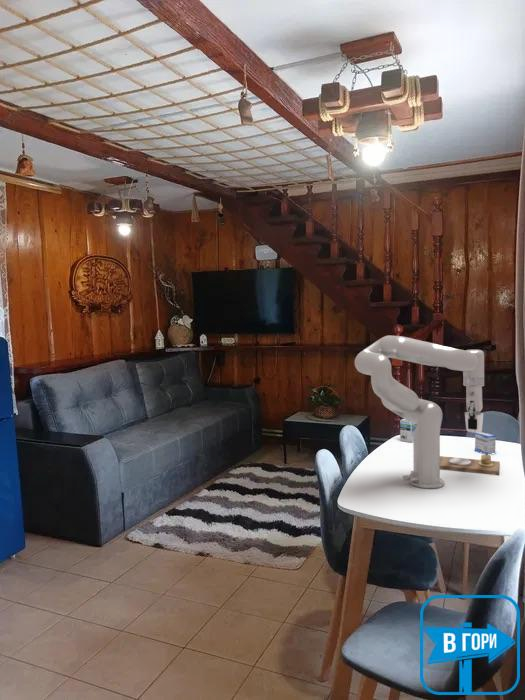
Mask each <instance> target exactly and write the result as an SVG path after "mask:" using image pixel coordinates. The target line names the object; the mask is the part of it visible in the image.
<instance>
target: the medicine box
mask: <svg viewBox="0 0 525 700" xmlns="http://www.w3.org/2000/svg"><path fill="white" fill-rule="evenodd" d="M474 433H475V432H474ZM474 435H475V436H474V438H475V441H474V451H475V452H476V451H479V452H478V453H480V452H482V453H481V454H483V453H486V454H485V455H487V454H492V453H495V454H496V439H497V438H496V435H495V434H491V433H487V432H483V431H482V432H476V433H475V434H474ZM492 455H493V454H492Z"/></svg>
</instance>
